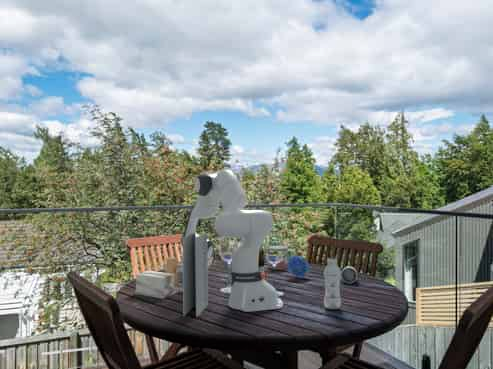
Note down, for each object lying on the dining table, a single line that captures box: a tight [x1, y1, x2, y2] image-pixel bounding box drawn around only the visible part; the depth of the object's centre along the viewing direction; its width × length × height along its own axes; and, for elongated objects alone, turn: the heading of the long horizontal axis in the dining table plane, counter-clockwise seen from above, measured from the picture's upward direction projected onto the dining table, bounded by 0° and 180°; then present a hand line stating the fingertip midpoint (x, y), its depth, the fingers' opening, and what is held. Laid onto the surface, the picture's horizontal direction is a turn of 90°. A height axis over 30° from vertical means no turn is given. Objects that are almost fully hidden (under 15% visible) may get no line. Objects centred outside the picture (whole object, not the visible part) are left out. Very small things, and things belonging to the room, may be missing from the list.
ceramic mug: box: [340, 265, 358, 284], centre depth 204 cm, size 11×8×8 cm
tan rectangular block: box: [165, 256, 179, 286], centre depth 195 cm, size 4×4×13 cm
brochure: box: [181, 232, 209, 318], centre depth 160 cm, size 14×6×30 cm, turn 168°
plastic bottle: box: [323, 257, 342, 310], centre depth 161 cm, size 6×7×20 cm
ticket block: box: [134, 270, 183, 300], centre depth 191 cm, size 22×17×9 cm
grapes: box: [287, 254, 310, 279], centre depth 211 cm, size 12×7×12 cm, turn 85°
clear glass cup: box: [267, 245, 289, 270], centre depth 239 cm, size 11×11×12 cm
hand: (171, 270), depth 195 cm, fingers closed on tan rectangular block, 4 cm apart
